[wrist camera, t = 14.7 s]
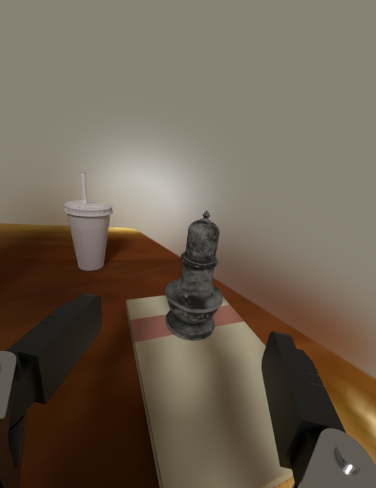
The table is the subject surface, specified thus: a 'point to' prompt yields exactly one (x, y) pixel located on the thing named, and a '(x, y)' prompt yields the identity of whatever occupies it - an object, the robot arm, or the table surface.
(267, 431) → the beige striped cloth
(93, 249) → the smoothie
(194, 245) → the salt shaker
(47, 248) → the table surface
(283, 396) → the robot arm
